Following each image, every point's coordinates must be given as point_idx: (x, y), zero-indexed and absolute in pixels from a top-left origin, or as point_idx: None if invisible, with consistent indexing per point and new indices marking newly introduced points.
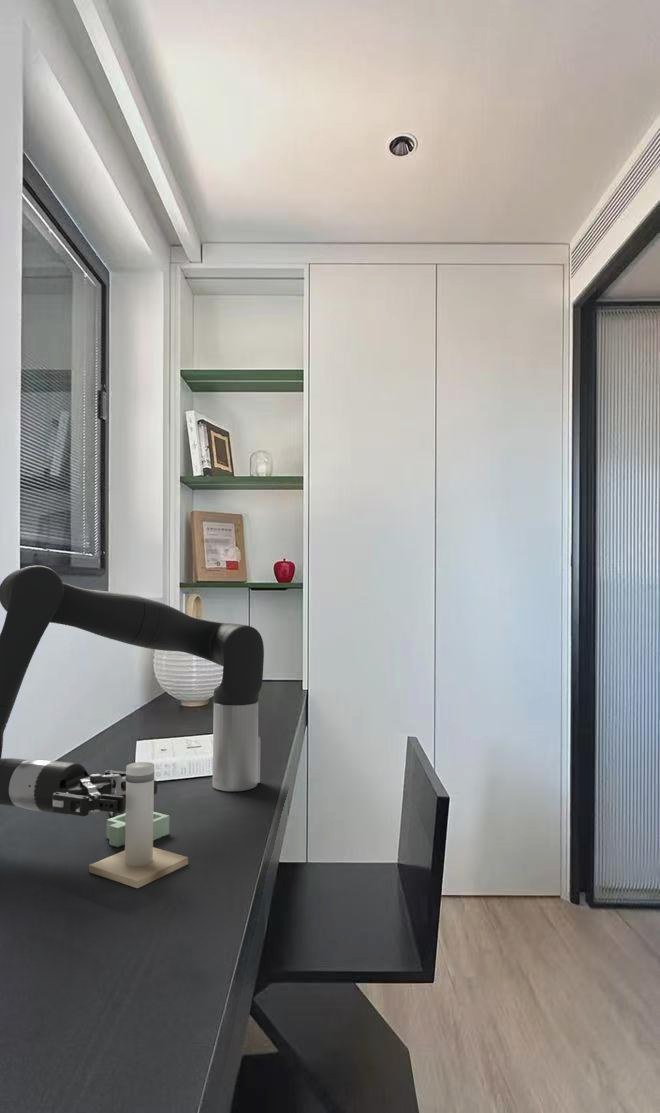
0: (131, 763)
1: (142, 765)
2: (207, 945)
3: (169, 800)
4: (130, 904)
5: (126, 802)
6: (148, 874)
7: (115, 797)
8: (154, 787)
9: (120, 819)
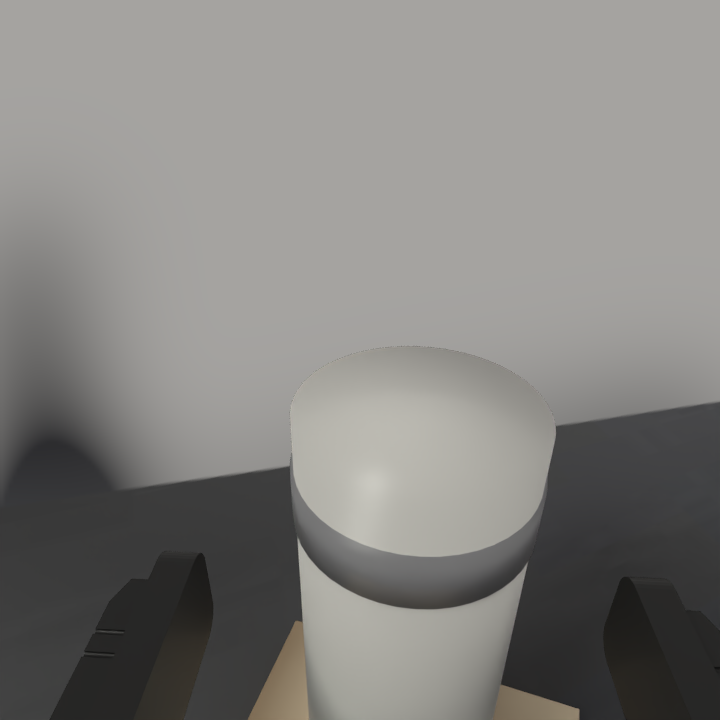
0: (378, 490)
1: (413, 396)
2: (690, 442)
3: None
4: None
5: (493, 687)
6: (502, 696)
7: (692, 632)
8: (204, 579)
9: None
